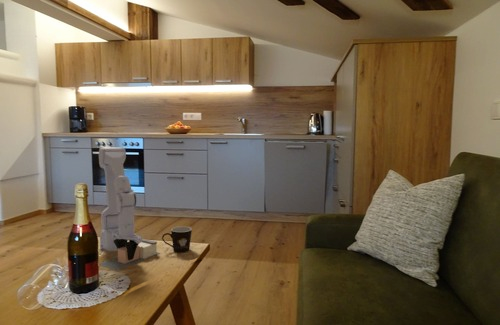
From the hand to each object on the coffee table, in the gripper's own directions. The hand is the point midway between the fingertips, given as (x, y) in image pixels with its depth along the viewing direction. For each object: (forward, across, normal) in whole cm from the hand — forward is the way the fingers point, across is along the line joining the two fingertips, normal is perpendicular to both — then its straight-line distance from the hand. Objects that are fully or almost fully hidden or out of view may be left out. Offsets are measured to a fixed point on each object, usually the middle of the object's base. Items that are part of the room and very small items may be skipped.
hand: (126, 258), depth 136 cm
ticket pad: (+1, 0, +8) cm, 8 cm away
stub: (+1, 0, +1) cm, 1 cm away
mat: (+2, 0, +2) cm, 3 cm away
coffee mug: (+2, +8, +20) cm, 22 cm away
